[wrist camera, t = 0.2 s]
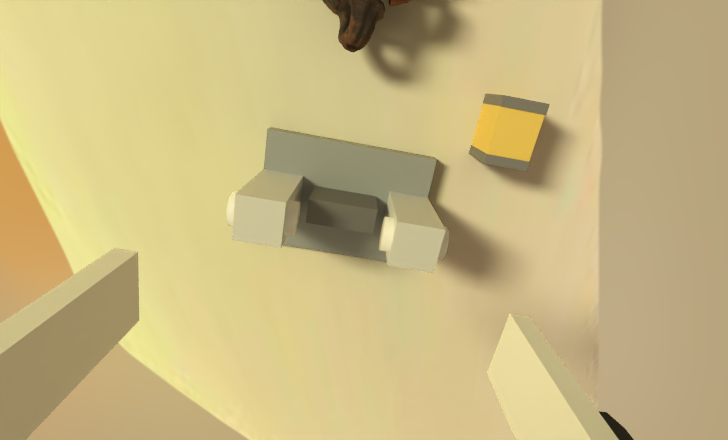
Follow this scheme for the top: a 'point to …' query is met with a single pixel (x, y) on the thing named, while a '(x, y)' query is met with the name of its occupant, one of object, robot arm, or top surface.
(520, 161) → the box
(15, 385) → the robot arm
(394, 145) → the top surface
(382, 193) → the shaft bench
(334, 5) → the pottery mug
